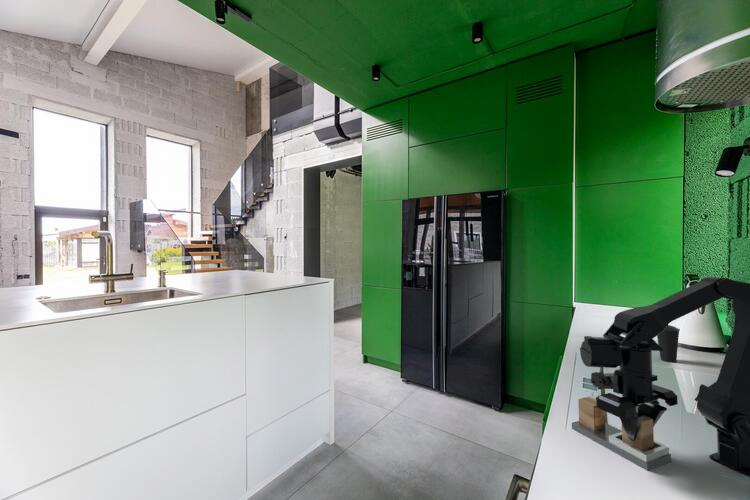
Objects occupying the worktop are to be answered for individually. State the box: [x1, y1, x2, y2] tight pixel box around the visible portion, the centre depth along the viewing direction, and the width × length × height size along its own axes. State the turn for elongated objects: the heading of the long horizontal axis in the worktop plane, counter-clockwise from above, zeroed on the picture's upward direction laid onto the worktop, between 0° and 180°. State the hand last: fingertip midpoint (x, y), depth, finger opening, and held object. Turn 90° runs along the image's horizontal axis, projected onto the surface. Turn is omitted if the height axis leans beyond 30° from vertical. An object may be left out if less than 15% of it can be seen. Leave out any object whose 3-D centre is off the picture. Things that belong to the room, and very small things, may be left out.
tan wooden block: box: [621, 416, 655, 450], centre depth 71 cm, size 4×4×6 cm
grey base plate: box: [571, 420, 672, 471], centre depth 75 cm, size 8×17×3 cm, turn 20°
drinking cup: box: [656, 324, 681, 363], centre depth 131 cm, size 8×8×20 cm
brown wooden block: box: [578, 396, 606, 430], centre depth 80 cm, size 4×4×6 cm
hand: (637, 437), depth 70 cm, fingers closed on tan wooden block, 4 cm apart
